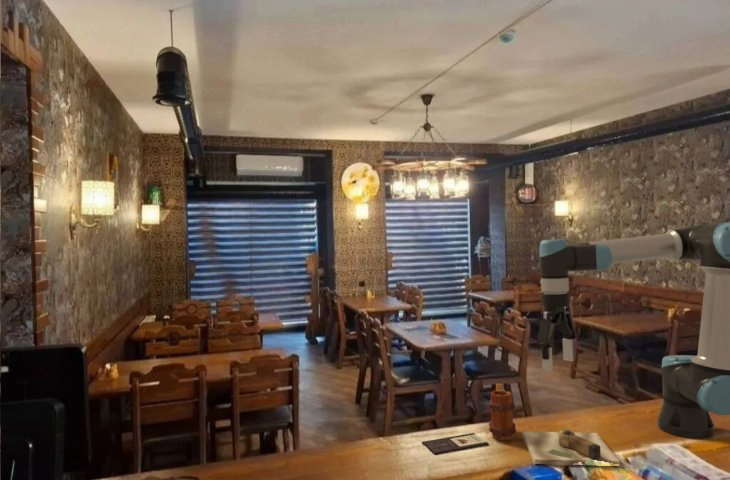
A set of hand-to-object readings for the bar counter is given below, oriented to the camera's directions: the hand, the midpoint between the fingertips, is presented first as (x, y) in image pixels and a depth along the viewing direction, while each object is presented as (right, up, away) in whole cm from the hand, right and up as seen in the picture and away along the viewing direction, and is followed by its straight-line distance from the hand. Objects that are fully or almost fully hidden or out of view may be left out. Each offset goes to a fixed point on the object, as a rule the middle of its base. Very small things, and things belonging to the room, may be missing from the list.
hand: (558, 365), depth 148 cm
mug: (-13, -25, +13) cm, 31 cm away
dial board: (+2, -25, 0) cm, 25 cm away
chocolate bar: (-29, -26, +7) cm, 40 cm away
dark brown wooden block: (+4, -23, -4) cm, 23 cm away
